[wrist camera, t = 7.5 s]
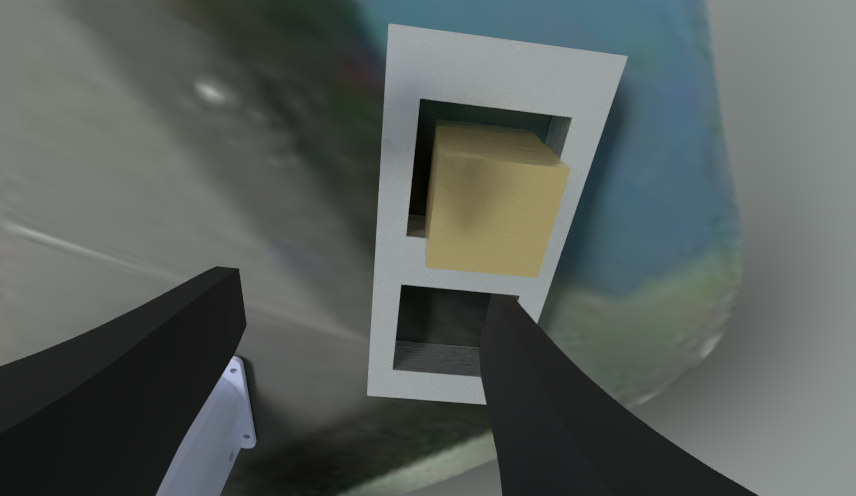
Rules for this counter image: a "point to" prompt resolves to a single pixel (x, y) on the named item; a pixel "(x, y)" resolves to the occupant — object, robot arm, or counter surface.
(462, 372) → the white block holder tray
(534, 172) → the wooden block
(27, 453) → the robot arm
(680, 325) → the counter surface
